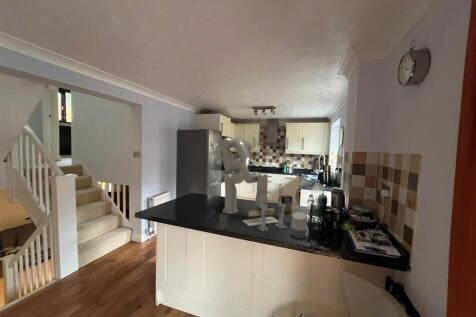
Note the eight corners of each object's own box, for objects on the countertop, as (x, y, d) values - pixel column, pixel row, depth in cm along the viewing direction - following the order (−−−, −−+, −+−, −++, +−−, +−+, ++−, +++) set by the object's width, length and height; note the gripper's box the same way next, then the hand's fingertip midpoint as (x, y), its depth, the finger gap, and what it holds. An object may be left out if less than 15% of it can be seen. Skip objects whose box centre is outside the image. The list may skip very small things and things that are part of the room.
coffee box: (281, 218, 156) (282, 197, 155) (277, 215, 163) (278, 195, 162) (292, 217, 159) (292, 196, 158) (287, 214, 165) (288, 194, 164)
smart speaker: (288, 237, 124) (289, 214, 123) (293, 232, 132) (294, 210, 131) (304, 241, 119) (305, 217, 118) (308, 235, 127) (309, 213, 126)
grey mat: (242, 221, 148) (242, 220, 148) (271, 217, 157) (271, 216, 157) (248, 226, 139) (248, 225, 139) (279, 222, 148) (279, 221, 148)
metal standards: (257, 227, 137) (258, 203, 136) (281, 224, 144) (282, 201, 143) (261, 231, 132) (262, 206, 131) (286, 227, 139) (287, 203, 138)
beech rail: (248, 215, 145) (248, 211, 145) (272, 212, 153) (272, 208, 153) (249, 216, 143) (249, 212, 142) (274, 213, 150) (274, 209, 150)
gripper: (252, 189, 153) (251, 213, 154) (263, 193, 138) (262, 220, 139) (261, 188, 156) (260, 212, 157) (272, 192, 141) (272, 219, 142)
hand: (261, 216), depth 148 cm, fingers closed on beech rail, 3 cm apart
